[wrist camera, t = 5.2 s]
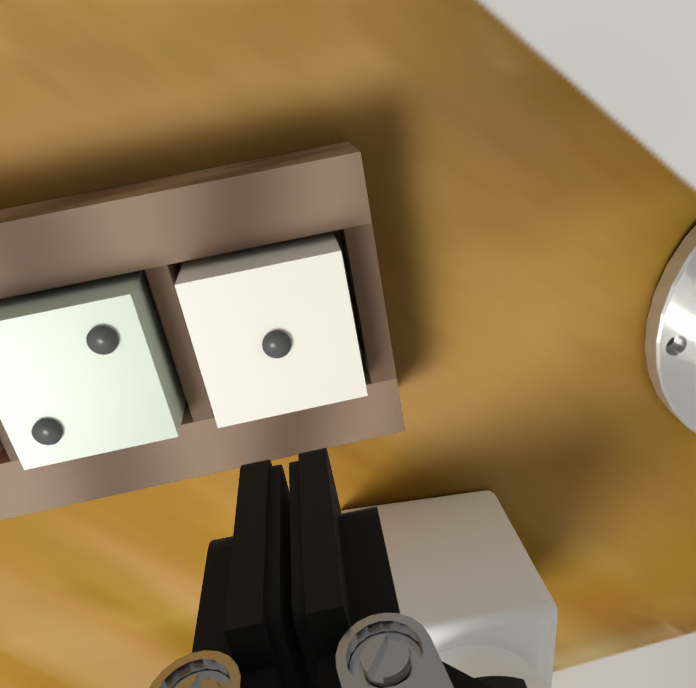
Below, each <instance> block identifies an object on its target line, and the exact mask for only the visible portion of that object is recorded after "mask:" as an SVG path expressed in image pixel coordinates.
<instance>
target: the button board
mask: <svg viewBox="0 0 696 688" xmlns="http://www.w3.org/2000/svg"><path fill="white" fill-rule="evenodd" d="M328 232H333V233H334V236H335V238H336V240H337V242H338V245H339V247H340V249H341V252H342V258H343V263H344V269H345V274H346V280H347V285H348V290H349V296H350V301H351V307H352V312H353V318H354V323H355V329H356V334H357V340H358V345H359V351H360V356H361V361H362V367H363V372H364V378H365V383H366V389H367V394H368V396H364V397H360V398H355V399H351V400H346V401H341V402H337V403H332V404H327V405H323V406H318V407H314V408H309V409H304V410H300V411H295V412H291V413H286V414H281V415H277V416H272V417H268V418H263V419H258V420H254V421H249V422H244V423H240V424H235V425H231V426H226V427H221V428H218V427H217V424H216V420H215V417H214V414H213V410H212V407H211V404H210V401H209V397H208V394H207V391H206V387H205V384H204V381H203V377H202V374H201V371H200V368H199V364H198V361H197V358H196V354H195V351H194V348H193V345H192V341H191V338H190V335H189V331H188V328H187V325H186V322H185V318H184V315H183V312H182V308H181V305H180V302H179V299H178V295H177V292H176V289H175V282H176V280H177V277H178V274H179V272H180V269H181V267H182V264H183V262H186V261H191V260H196V259H201V258H206V257H211V256H216V255H220V254H225V253H230V252H235V251H240V250H245V249H250V248H255V247H260V246H265V245H269V244H274V243H279V242H284V241H289V240H294V239H299V238H304V237H309V236H314V235H318V234H323V233H328ZM142 270H144V272H145V275H146V278H147V282H148V285H149V288H150V291H151V294H152V297H153V300H154V303H155V306H156V310H157V313H158V316H159V319H160V322H161V325H162V328H163V331H164V334H165V338H166V341H167V344H168V347H169V350H170V353H171V356H172V359H173V362H174V365H175V369H176V372H177V375H178V378H179V381H180V384H181V387H182V390H183V393H184V397H185V400H186V404H185V409H184V413H183V418H182V423H181V427H180V432H179V436H178V437H175V438H171V439H166V440H161V441H157V442H152V443H148V444H143V445H138V446H134V447H129V448H124V449H120V450H115V451H111V452H106V453H101V454H97V455H92V456H88V457H83V458H78V459H74V460H69V461H65V462H60V463H55V464H51V465H46V466H41V467H37V468H32V469H28V470H24V469H23V466H22V464H21V462H20V460H19V458H18V456H17V454H16V451H15V449H14V447H13V445H12V443H11V441H10V439H9V437H8V434H7V432H6V430H5V428H4V426H3V424H2V422H1V420H0V440H1V442H2V444H3V446H4V449H3V451H2V452H1V454H0V520H3V519H7V518H12V517H16V516H21V515H26V514H30V513H35V512H39V511H44V510H48V509H53V508H57V507H62V506H66V505H71V504H76V503H80V502H85V501H89V500H94V499H98V498H103V497H107V496H112V495H116V494H121V493H126V492H130V491H135V490H139V489H144V488H148V487H153V486H157V485H162V484H166V483H171V482H176V481H180V480H185V479H189V478H194V477H198V476H203V475H207V474H212V473H216V472H221V471H226V470H230V469H235V468H239V467H241V465H244V464H249V463H254V462H258V461H263V460H268V459H269V460H270V461H271V460H276V459H280V458H285V457H289V456H294V455H298V454H299V453H302V452H307V451H312V450H317V449H322V448H330V447H335V446H339V445H344V444H348V443H353V442H357V441H362V440H367V439H371V438H376V437H380V436H385V435H389V434H394V433H398V432H403V431H405V427H404V421H403V414H402V408H401V402H400V396H399V389H398V383H397V377H396V370H395V364H394V358H393V352H392V345H391V339H390V333H389V326H388V320H387V314H386V308H385V301H384V295H383V289H382V283H381V276H380V270H379V264H378V257H377V251H376V245H375V239H374V232H373V226H372V220H371V213H370V207H369V201H368V195H367V188H366V182H365V176H364V169H363V163H362V157H361V152H360V151H359V150H358V149H357V148H356V147H355V146H353V145H352V144H351V143H350V142H349V141H345V142H340V143H335V144H330V145H325V146H320V147H315V148H309V149H304V150H299V151H294V152H289V153H284V154H279V155H274V156H269V157H264V158H259V159H254V160H249V161H244V162H239V163H234V164H228V165H223V166H218V167H213V168H208V169H203V170H198V171H193V172H188V173H183V174H178V175H173V176H168V177H163V178H158V179H153V180H147V181H142V182H137V183H132V184H127V185H122V186H117V187H112V188H107V189H102V190H97V191H92V192H87V193H82V194H77V195H72V196H66V197H61V198H56V199H51V200H46V201H41V202H36V203H31V204H26V205H21V206H16V207H11V208H6V209H1V210H0V299H5V298H10V297H15V296H19V295H24V294H29V293H34V292H39V291H44V290H49V289H54V288H59V287H64V286H68V285H73V284H78V283H83V282H88V281H93V280H98V279H103V278H108V277H113V276H117V275H122V274H127V273H132V272H137V271H142Z"/></svg>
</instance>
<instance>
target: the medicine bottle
mask: <svg viewBox="0 0 696 688" xmlns="http://www.w3.org/2000/svg"><path fill="white" fill-rule="evenodd" d="M376 506H377V508H378V513H379V517H380V522H381V527H382V531H383V536H384V540H385V545H386V550H387V554H388V559H389V564H390V568H391V573H392V577H393V582H394V587H395V591H396V596H397V601H398V605H399V610H400V614H402V615H405V616H408V617H411V618H413V619H414V620H416V621H417V622H419V623H420V624H421V625H423V626H424V628H425V629H426V631H427V632H428V634H429V635H430V637H431V639H432V641H433V643H434V645H435V648H436V650H437V652H438V654H439V656H440V659H441V661H443V662H445V663H447V664H449V665H450V666H452V667H454V668H456V669H458V670H460V671H462V672H464V673H465V674H467V675H469V676H471V677H473V678H475V679H477V680H479V681H480V682H482V683H484V684H486V685H488V686H490V687H492V688H551V683H552V672H553V661H554V650H555V639H556V628H557V617H558V611H557V607H556V604H555V602H554V600H553V599H552V597H551V595H550V593H549V591H548V590H547V588H546V586H545V584H544V582H543V581H542V579H541V577H540V575H539V573H538V571H537V570H536V568H535V566H534V564H533V562H532V561H531V559H530V557H529V555H528V553H527V552H526V550H525V548H524V546H523V544H522V542H521V541H520V539H519V537H518V535H517V533H516V532H515V530H514V528H513V526H512V524H511V522H510V521H509V519H508V517H507V515H506V513H505V512H504V510H503V508H502V506H501V504H500V503H499V501H498V499H497V497H496V495H495V494H494V493H493V492H491V491H489V490H485V491H478V492H471V493H463V494H456V495H449V496H442V497H434V498H427V499H420V500H413V501H405V502H398V503H391V504H384V505H376ZM376 506H369V507H362V508H355V509H347V510H343V511H341V513H347V512H352V511H357V510H362V509H366V508H371V507H376Z"/></svg>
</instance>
